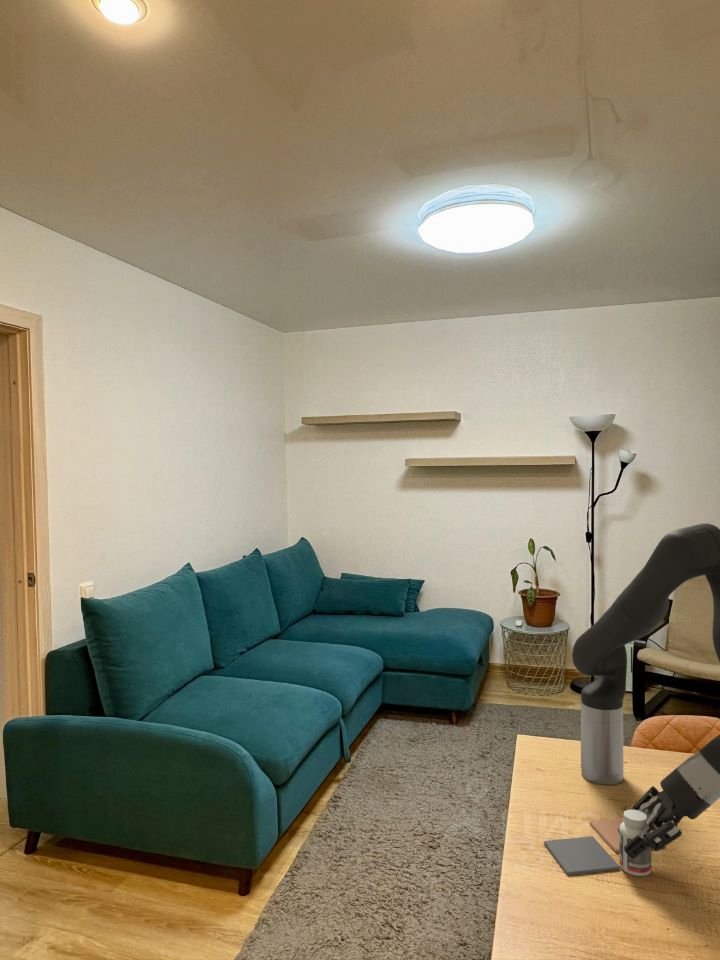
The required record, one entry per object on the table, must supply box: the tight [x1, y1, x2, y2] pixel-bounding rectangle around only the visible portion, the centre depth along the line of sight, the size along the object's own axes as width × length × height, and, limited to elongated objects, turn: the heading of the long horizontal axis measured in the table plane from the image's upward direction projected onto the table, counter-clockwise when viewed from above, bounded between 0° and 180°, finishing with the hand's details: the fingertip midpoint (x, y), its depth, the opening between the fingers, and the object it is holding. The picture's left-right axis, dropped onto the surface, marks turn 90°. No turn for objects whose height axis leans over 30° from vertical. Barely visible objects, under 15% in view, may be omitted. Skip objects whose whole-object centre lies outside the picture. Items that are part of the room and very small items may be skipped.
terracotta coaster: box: [589, 817, 666, 854], centre depth 131 cm, size 10×10×1 cm
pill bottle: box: [618, 810, 653, 877], centre depth 121 cm, size 5×5×10 cm
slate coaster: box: [543, 835, 621, 876], centre depth 125 cm, size 10×10×1 cm
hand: (624, 844), depth 121 cm, fingers closed on pill bottle, 5 cm apart
